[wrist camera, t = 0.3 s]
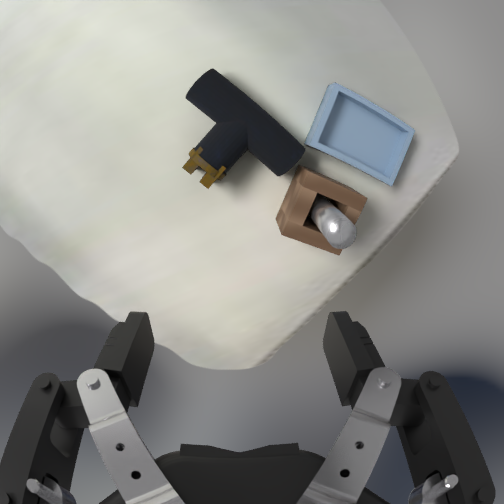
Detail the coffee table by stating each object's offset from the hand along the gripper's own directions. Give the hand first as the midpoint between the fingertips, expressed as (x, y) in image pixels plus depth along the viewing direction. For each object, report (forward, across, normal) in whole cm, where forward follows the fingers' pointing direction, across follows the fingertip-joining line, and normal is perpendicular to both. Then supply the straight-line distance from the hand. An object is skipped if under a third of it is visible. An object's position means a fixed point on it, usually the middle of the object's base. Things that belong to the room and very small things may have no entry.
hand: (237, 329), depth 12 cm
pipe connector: (+28, +1, -6) cm, 29 cm away
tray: (+28, -16, -8) cm, 33 cm away
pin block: (+28, -10, +2) cm, 30 cm away
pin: (+28, -10, +2) cm, 30 cm away
